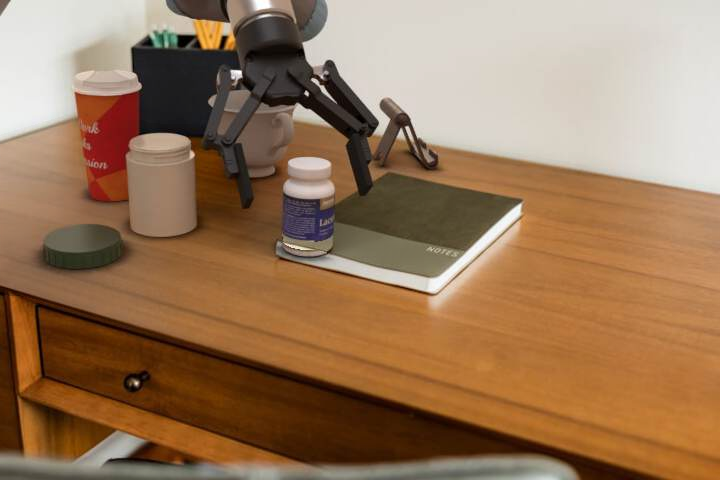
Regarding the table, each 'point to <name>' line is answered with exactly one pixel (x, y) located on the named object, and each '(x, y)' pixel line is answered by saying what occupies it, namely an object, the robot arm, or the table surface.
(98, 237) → the jar lid
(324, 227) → the pill bottle
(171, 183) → the jar
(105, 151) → the coffee cup
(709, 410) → the table surface
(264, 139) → the teacup
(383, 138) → the tablet stand
